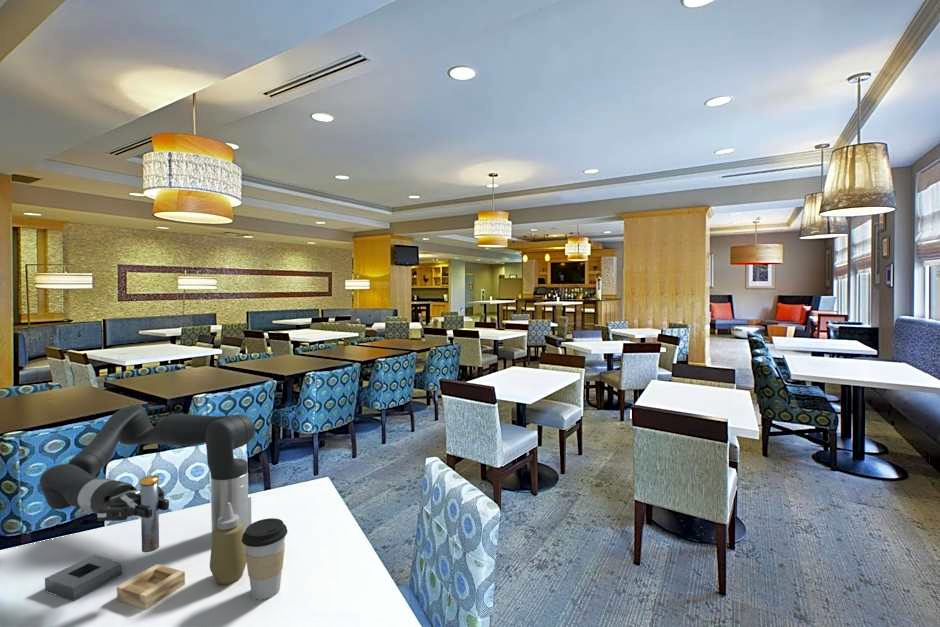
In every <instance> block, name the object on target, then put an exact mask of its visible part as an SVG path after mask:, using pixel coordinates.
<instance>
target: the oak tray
mask: <svg viewBox="0 0 940 627" xmlns="http://www.w3.org/2000/svg"><path fill="white" fill-rule="evenodd" d="M185 585H186V572H185V571H183V570H180V569H176V568H173V567H169V566H165V565H163V564H158V563H156V564H154V565H152V566H151V567H149V568H148V569H145V570H144V571H143V572H141V573H139V574H137V575H136V576H133V577H132V578H130V579H129V580H126V581H125V582H122V583H121V584H120V585H118V586H116V600H117V602H118V601H119V602H122V603H125V604H128V605H130V606H133V607H136V608H138V609H139V608H140V609H143V610H148V609H149V608H150V607H152V606H154V605H155V604H157V603H158V602H160V601H161V600H163V599H165V598H166V597H168V596H170V595H171V594H172V593H174V592H176V591H177V590H179V589H180V588H182V587H183V586H185Z"/></svg>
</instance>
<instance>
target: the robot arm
mask: <svg viewBox="0 0 940 627" xmlns="http://www.w3.org/2000/svg"><path fill="white" fill-rule="evenodd" d="M255 435H256V426H255V424H254V422H253V421H252V419H251V418H250V417H248V416H247V415H244V414H239V413H238V414H230V415H220V416H219V415H218V416H217V415H216V416H215V415H205V414H189V413H172V414H169V415H166V416H165V417H162V418H161V420H159V421H158V422H157V423H156V425H155V426H153V425H152V422H151V420H150V419H149V416H148V413H147V411H146V409H145V408H144V407H143V406H142V405H139V404H135V405H134V404H133V405H130V406H129V405H128V406H125V407H124V408H121V409H119V410H117V411H115V412H114V413H113V414H112V415H111V416H110V417H109V418H108V419H107V421H106V422H105V423H104V424H103V426H101V428H100V429H99V431H98V432H97V434H96V435H95V436H94V437H93V438H92V440H91V441H90V442H89V443H88V444H87V445H86V446H85V447H84V448H83V449H81V451H79V452H78V453H77V454H76V455H74V456H73V457H72V458H71V459H70V460H69V461H68V462H67V463H63V464H57V465H54V466H52V467H50V468H48V469H46V470H45V471H44V472H43V473H42V474H41V476H40V477H39V486H40V488H41V490H42V493H43V496H44V498H45V501H46V504H47V505H48V506H49V508H50V509H51V508H52V509H54V510H64V509H67V508H70V507H72V506H73V507H74V508H75V507H76V508H79V509H82V510H85V511H87V512H89V513H91V514H96V515H97V521H98V522H113V521H114V522H115V521H116V522H119V521H126V520H128V518H129V517H130V518H136V517H139V518H141V517H142V518H150V517H152V508H151V507H148V506H144V505H141V489H140V490H139V489H136V487H135V486H134V485H133V484H132V483H129V482H126V481H125V482H124V481H121V480H116V479H110V478H102V477H97V476H96V475H97V474H98V473H99V472H100V471H101V470H102V469H103V468H104V467H105V466H106V465H107V464H108V463H109V462H110V460H111V459H112V457H113V455H114V453H115V451H116V447H117V444H118V442H119V443H120V444H121V445H126V446H130V445H131V446H134V445H149V444H150V445H153V444H154V445H167V446H177V447H184V446H185V447H186V446H187V447H188V446H189V447H190V446H194V445H200V444H205V448H206V458H207V460H206V461H207V466H208V469H209V471H210V507H211V508H210V509H211V511H210V512H211V519H210V520H211V537H212V536H213V531H214V530H215V529H216V528H217V520H218V519H219V518H220V517H222V516H223V512H224V507H225V503H228V502H230V503H231V506H232V509H233V513H234V514H237V515H239V523H241V524H243V526H244V532H245V531H246V528H247V527H248V526H249V525H251V524H252V496H251V495H250V494H249V471H248V470H249V469H248V468H249V464H248V462H247V460H245V459H243V458H238V457H237V458H236V457H234V450H236V449H238V448H242V447H244V446H245V445H247V444H249V443H250V442H251V441H252V440H253V439H254V436H255ZM158 506H159V511H160V510H161V511H164V512H165V511H168V510H169V508H170V500H169V499H167V498H165V491H164V490H163V489H162V488H161V487H160V485H158Z"/></svg>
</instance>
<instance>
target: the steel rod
mask: <svg viewBox="0 0 940 627" xmlns="http://www.w3.org/2000/svg"><path fill="white" fill-rule="evenodd" d="M159 480H160V478H159V475H155V474H154V475H147V476H144V477H141V478H140V479H139V485H140V490H141V505H144V506H148V507H151V508H152V517H150V518H142V517H140V520H141V521H140V523H141V524H140V525H141V526H140V527H141V529H140V532H141V552H142V553H151V552H154V551H156V550H158V549H159V548H160V523H159V520H160V519H159V517H160V515H159V514H160V513H159V511H160V509H159V506H158V486H159V482H160V481H159Z"/></svg>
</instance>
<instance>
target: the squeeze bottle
mask: <svg viewBox="0 0 940 627" xmlns="http://www.w3.org/2000/svg"><path fill="white" fill-rule="evenodd" d="M243 534H244V526H243V524H241V523H239V515H237V514H234V513H233V509H232V506H231V503H230V502H228V503H225V507H224V512H223V516H222V517H220V518H219V519H218V520H217V528H216V529H215V530H214V531H213V536H212V535H211V546H210V559H209V569H210V572H211V574H212V577H213V579H214V581H215V583H217V584H219V585H228V584H231V583H233V582H234V583H235V582H236V581H238V580H239V579H240V578H242V576H243V574H244V571H245V568H246V567H247V561H246V554H245V550H246V548H245V545H244V544H243V543H242V536H243Z"/></svg>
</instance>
